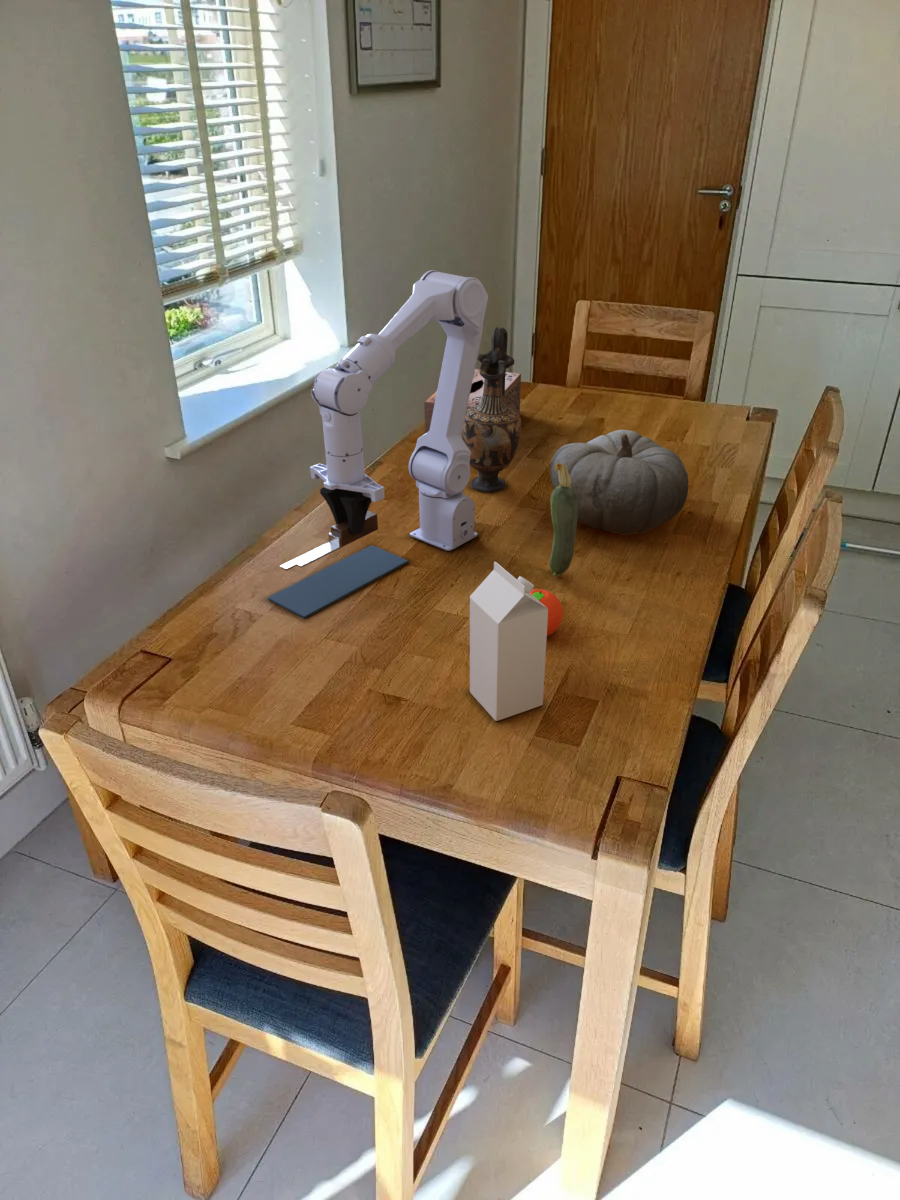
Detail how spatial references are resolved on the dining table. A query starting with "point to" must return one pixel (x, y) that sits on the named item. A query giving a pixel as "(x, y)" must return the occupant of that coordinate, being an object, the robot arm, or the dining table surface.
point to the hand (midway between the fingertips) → (350, 530)
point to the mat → (337, 581)
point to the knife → (334, 541)
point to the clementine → (550, 608)
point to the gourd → (623, 481)
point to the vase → (492, 420)
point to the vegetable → (563, 521)
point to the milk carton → (507, 645)
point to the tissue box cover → (477, 392)
